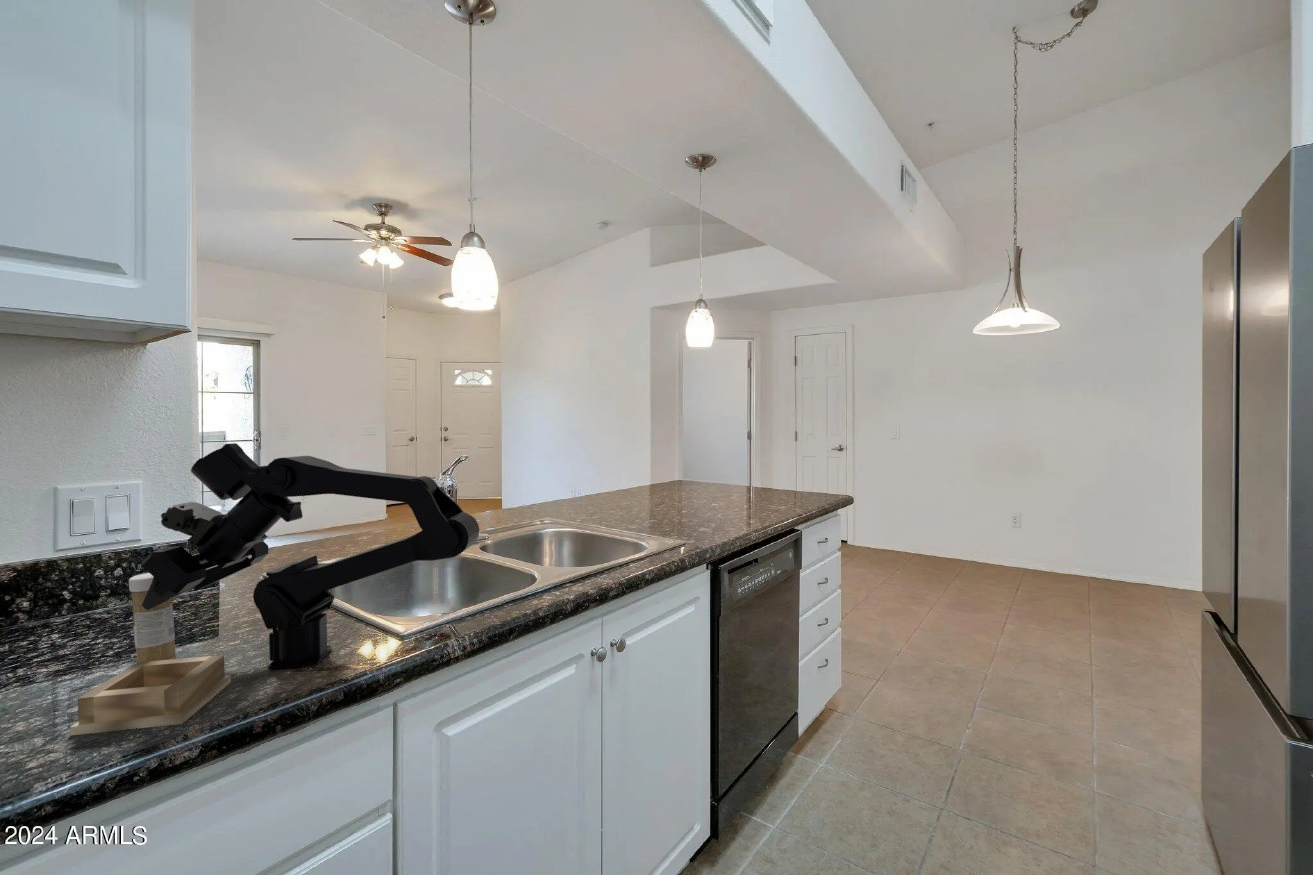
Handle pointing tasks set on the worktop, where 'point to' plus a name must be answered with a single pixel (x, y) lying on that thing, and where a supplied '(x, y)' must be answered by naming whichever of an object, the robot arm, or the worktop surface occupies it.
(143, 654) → the sprinkles bottle
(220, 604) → the worktop surface
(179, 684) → the caddy
